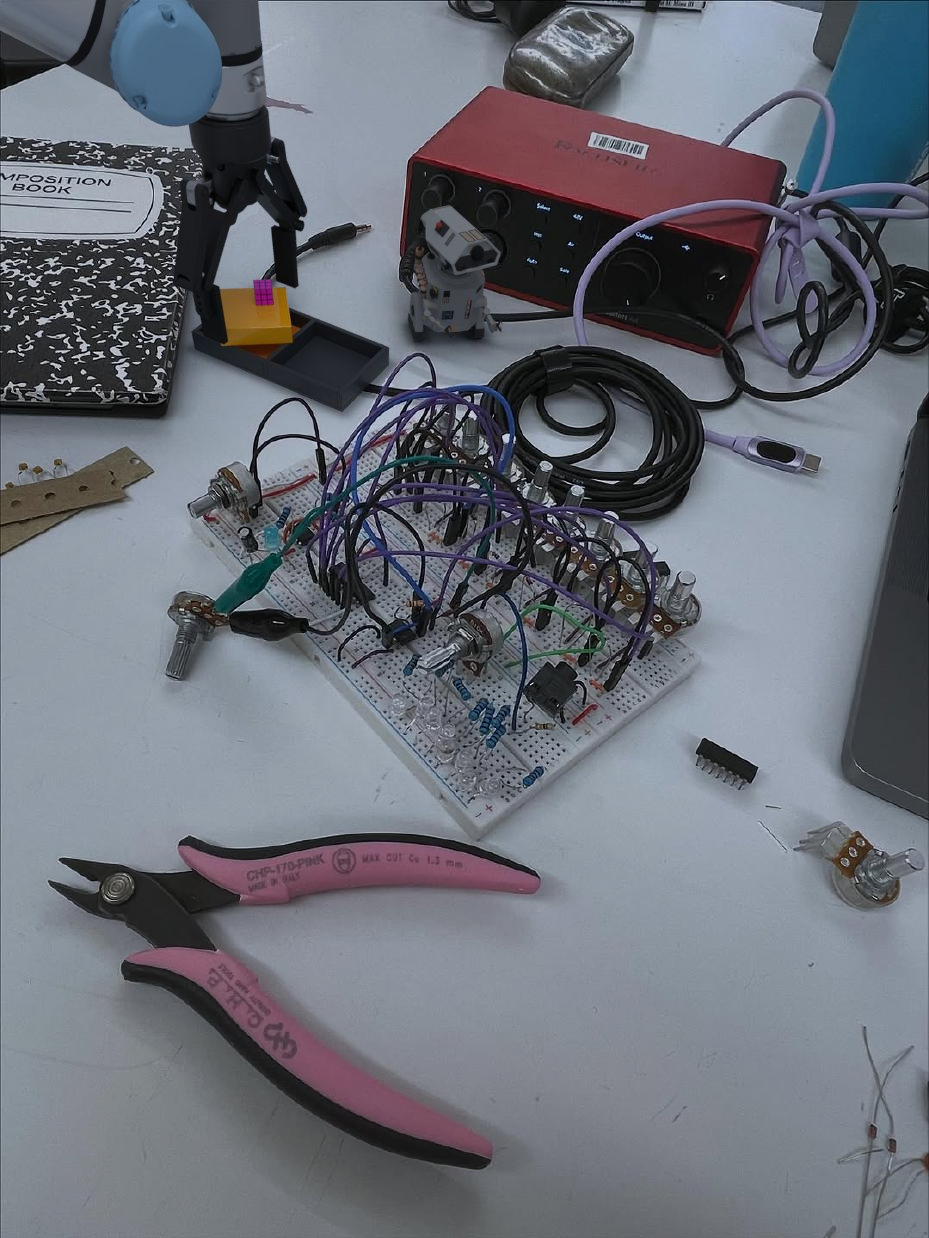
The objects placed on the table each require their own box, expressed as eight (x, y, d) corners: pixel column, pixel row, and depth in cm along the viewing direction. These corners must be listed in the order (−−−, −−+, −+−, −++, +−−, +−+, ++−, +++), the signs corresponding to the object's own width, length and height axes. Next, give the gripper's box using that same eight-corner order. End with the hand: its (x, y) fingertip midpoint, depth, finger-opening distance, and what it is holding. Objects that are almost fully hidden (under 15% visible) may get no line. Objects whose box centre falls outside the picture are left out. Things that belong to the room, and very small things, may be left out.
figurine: (423, 372, 94) (430, 251, 82) (405, 316, 100) (410, 196, 88) (496, 368, 96) (514, 248, 84) (474, 313, 102) (488, 195, 90)
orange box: (293, 343, 91) (290, 310, 87) (221, 346, 89) (215, 312, 86) (287, 303, 95) (284, 270, 92) (218, 306, 94) (213, 272, 90)
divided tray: (194, 349, 92) (190, 331, 90) (248, 307, 98) (245, 290, 96) (342, 411, 88) (341, 394, 86) (389, 364, 94) (389, 347, 92)
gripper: (171, 164, 66) (211, 377, 83) (333, 75, 80) (339, 273, 97) (100, 138, 67) (153, 352, 84) (271, 55, 81) (288, 253, 98)
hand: (253, 310), depth 91 cm, fingers open, 13 cm apart
